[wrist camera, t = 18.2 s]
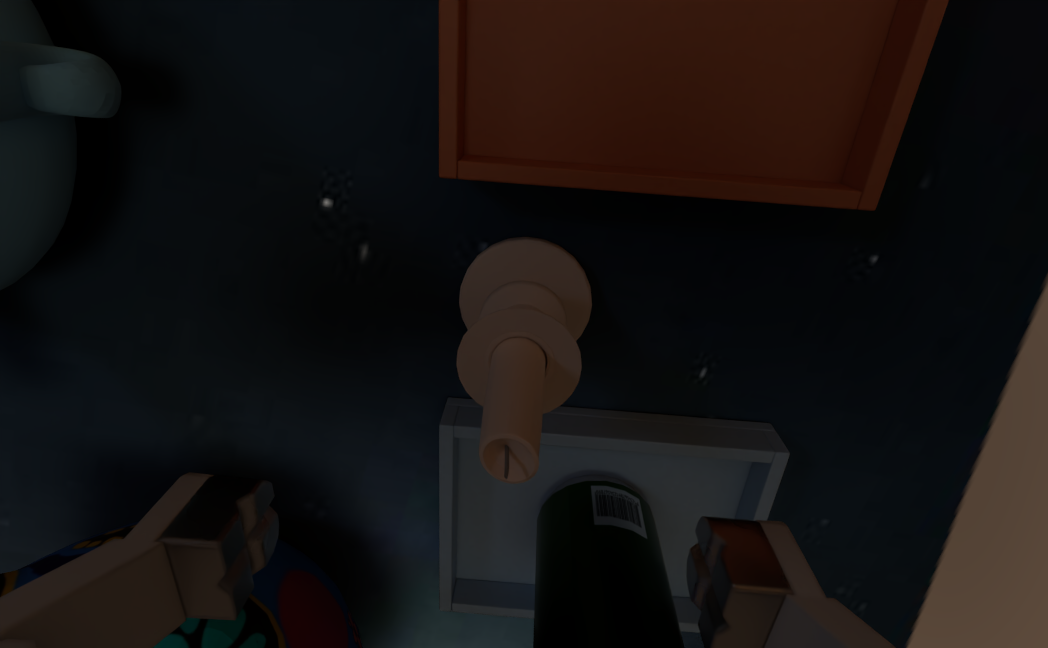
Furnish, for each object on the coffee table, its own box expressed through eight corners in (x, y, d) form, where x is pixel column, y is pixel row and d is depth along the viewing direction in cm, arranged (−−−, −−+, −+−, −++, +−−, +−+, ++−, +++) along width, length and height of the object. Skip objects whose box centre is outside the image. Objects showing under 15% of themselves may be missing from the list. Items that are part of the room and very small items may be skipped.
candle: (463, 355, 23) (402, 557, 13) (457, 234, 20) (378, 373, 11) (587, 358, 22) (615, 565, 13) (595, 236, 20) (635, 380, 11)
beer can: (544, 462, 24) (540, 782, 13) (663, 476, 24) (756, 807, 13) (530, 547, 26) (517, 881, 15) (638, 560, 26) (700, 901, 16)
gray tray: (771, 422, 23) (790, 453, 21) (714, 597, 28) (727, 635, 26) (447, 396, 23) (438, 424, 22) (446, 574, 28) (439, 611, 26)
